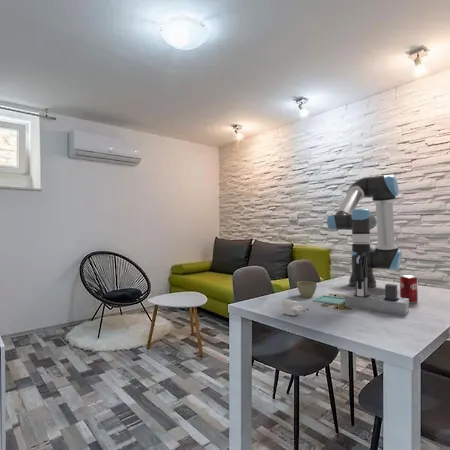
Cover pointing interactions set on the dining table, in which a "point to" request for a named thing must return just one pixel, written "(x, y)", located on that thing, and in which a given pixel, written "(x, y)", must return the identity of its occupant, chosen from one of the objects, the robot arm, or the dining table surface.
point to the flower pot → (306, 288)
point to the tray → (330, 299)
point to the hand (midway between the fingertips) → (361, 294)
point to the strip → (380, 301)
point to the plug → (364, 287)
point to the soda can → (409, 288)
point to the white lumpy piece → (292, 307)
